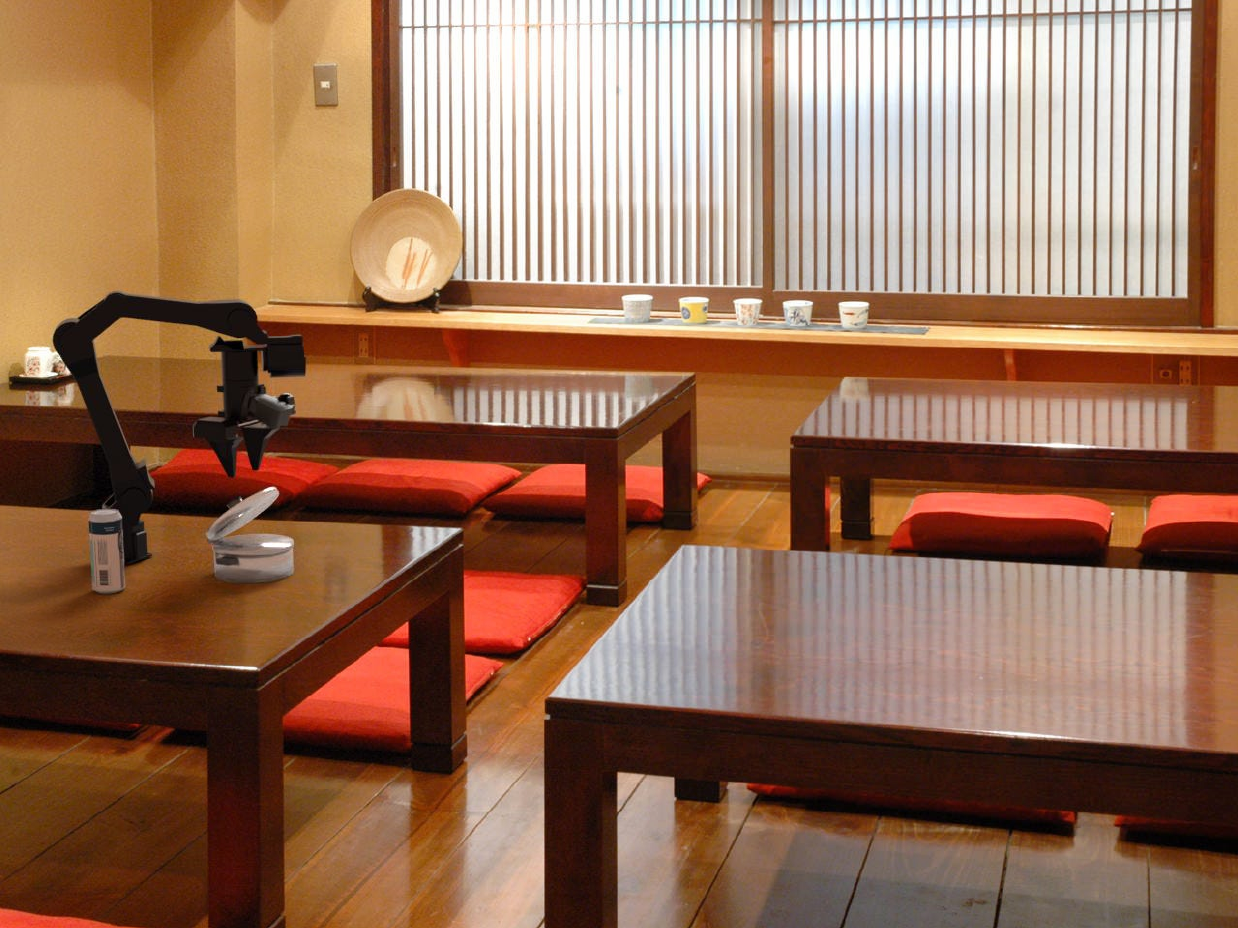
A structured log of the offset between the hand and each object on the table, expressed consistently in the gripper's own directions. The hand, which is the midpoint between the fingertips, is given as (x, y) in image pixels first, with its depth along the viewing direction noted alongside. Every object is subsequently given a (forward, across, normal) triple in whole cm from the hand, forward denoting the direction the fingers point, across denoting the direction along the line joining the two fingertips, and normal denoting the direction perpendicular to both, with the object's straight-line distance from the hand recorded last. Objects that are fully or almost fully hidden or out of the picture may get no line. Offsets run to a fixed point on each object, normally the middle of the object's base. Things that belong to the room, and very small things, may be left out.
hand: (243, 473), depth 258 cm
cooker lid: (+4, -11, -7) cm, 14 cm away
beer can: (+13, -28, +5) cm, 31 cm away
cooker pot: (+13, -11, -9) cm, 19 cm away
